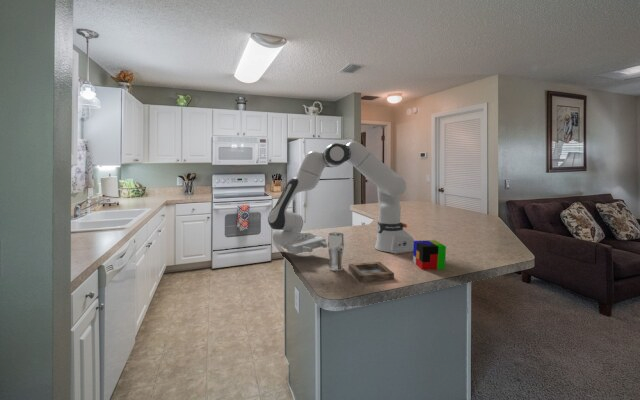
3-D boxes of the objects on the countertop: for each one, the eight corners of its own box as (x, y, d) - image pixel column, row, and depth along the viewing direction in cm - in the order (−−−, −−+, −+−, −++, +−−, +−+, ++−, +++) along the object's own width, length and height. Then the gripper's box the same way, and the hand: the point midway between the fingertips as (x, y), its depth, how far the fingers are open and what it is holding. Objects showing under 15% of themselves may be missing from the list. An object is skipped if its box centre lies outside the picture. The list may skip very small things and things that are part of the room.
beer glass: (333, 264, 134) (333, 231, 132) (347, 267, 130) (347, 233, 129) (324, 269, 129) (324, 234, 127) (338, 272, 125) (339, 236, 123)
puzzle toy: (412, 262, 139) (413, 240, 137) (434, 261, 139) (435, 240, 138) (421, 269, 129) (423, 246, 128) (444, 269, 130) (446, 246, 128)
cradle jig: (379, 267, 131) (379, 261, 131) (394, 279, 118) (394, 273, 118) (348, 269, 129) (348, 263, 128) (359, 282, 115) (359, 275, 115)
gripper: (280, 239, 137) (301, 245, 128) (313, 232, 152) (334, 237, 142) (281, 253, 138) (301, 260, 129) (313, 244, 153) (333, 250, 143)
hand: (319, 248), depth 136 cm, fingers open, 8 cm apart
